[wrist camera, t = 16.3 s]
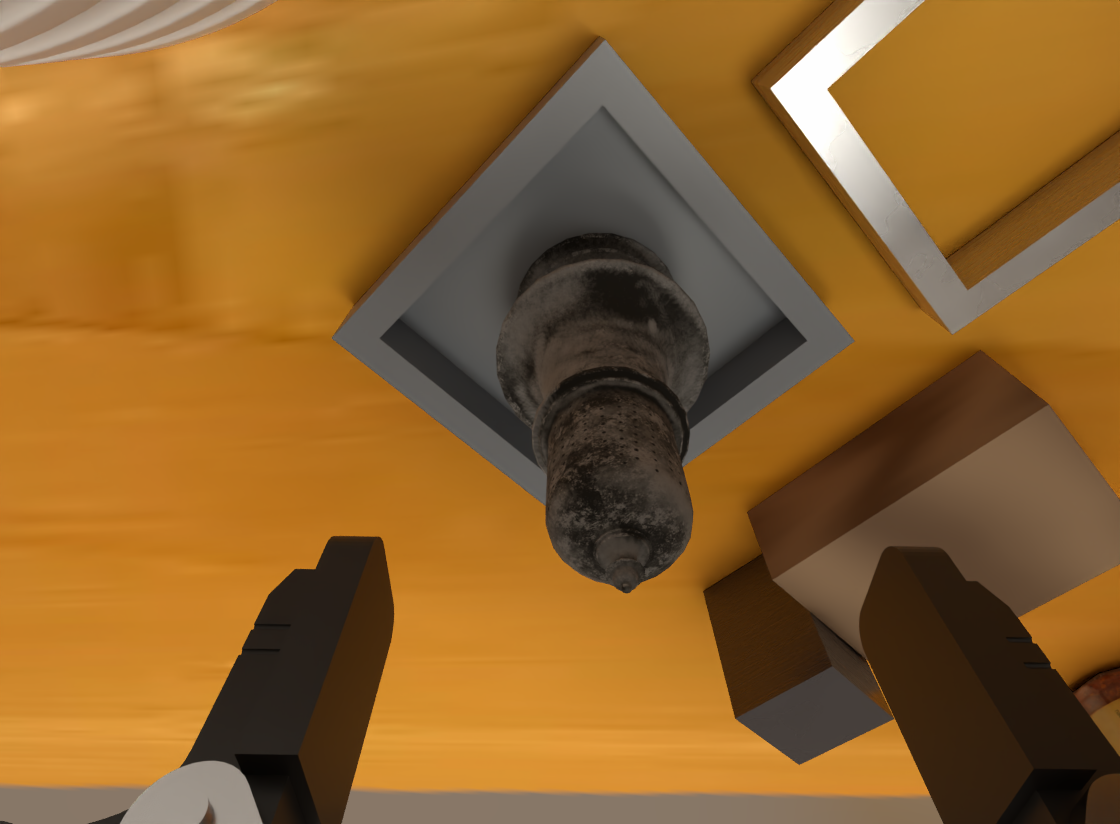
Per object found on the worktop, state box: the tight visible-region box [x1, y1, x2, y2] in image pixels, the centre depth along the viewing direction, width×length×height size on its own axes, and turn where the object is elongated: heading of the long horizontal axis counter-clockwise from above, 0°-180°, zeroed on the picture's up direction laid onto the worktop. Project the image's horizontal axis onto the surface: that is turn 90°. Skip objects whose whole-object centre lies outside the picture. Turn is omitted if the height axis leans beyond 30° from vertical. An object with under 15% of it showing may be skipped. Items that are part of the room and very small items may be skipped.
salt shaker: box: [496, 233, 710, 593], centre depth 16 cm, size 6×6×12 cm
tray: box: [332, 36, 854, 506], centre depth 21 cm, size 11×11×2 cm
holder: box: [751, 0, 1120, 335], centre depth 18 cm, size 10×10×2 cm
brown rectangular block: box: [747, 350, 1120, 660], centre depth 25 cm, size 10×8×4 cm
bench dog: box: [704, 554, 894, 765], centre depth 26 cm, size 4×4×6 cm
